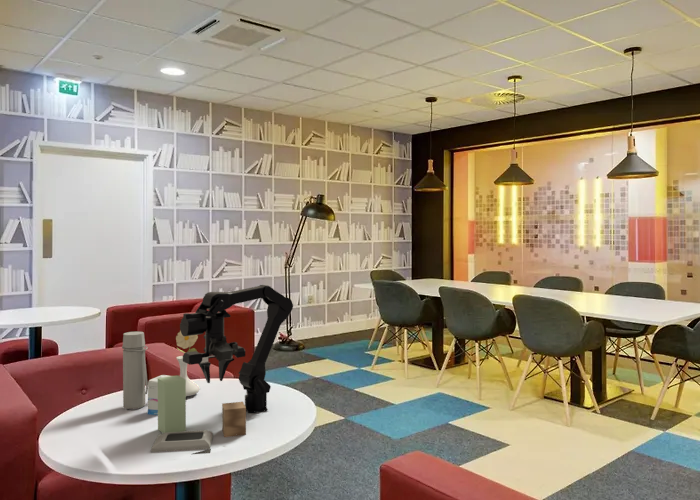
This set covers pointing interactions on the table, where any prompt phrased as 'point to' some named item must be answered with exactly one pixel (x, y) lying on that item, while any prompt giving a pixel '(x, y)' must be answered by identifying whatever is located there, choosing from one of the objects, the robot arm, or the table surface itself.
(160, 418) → the sage key
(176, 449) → the grey tray
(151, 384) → the ink box
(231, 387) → the table surface
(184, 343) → the flower in vase
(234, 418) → the walnut block
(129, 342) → the water bottle
